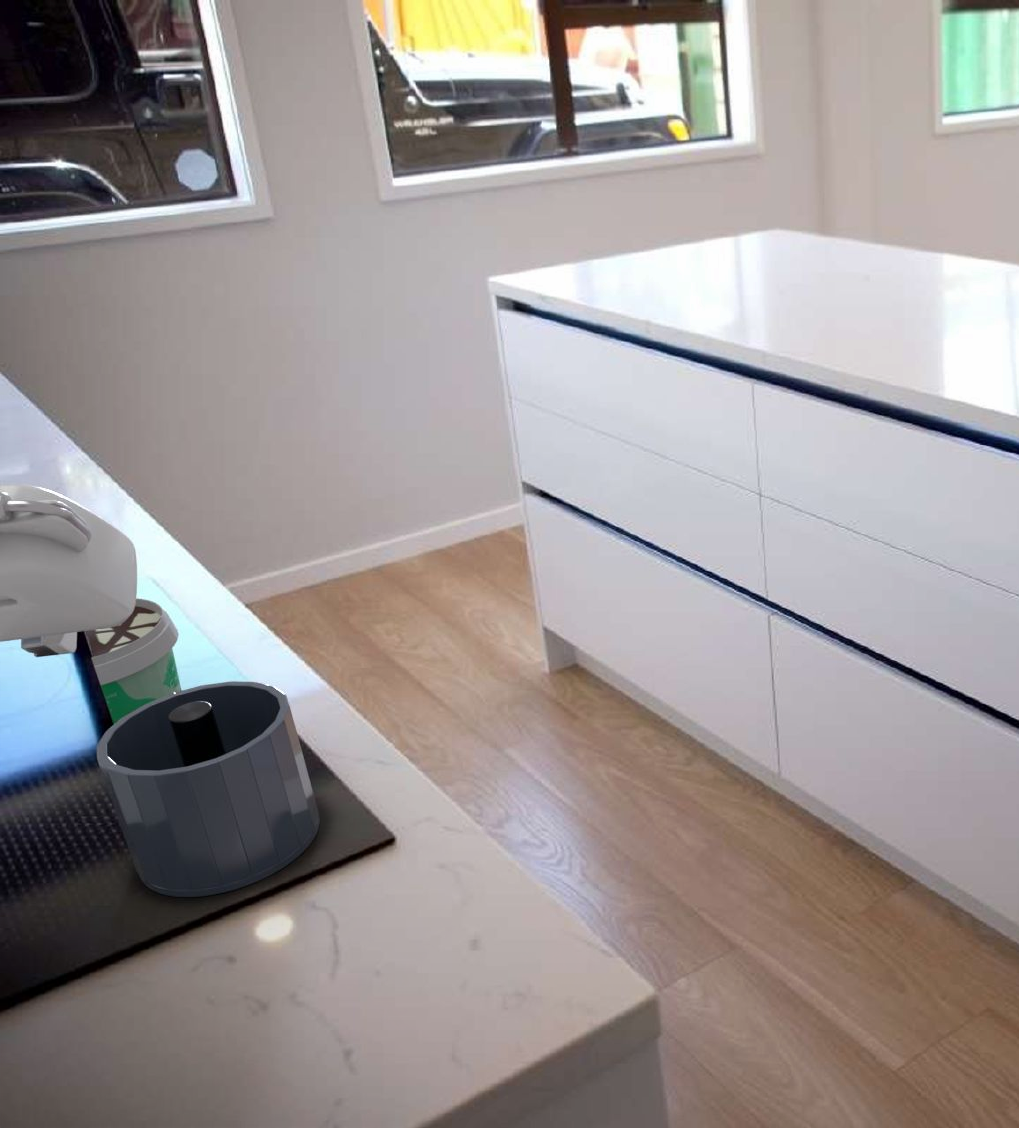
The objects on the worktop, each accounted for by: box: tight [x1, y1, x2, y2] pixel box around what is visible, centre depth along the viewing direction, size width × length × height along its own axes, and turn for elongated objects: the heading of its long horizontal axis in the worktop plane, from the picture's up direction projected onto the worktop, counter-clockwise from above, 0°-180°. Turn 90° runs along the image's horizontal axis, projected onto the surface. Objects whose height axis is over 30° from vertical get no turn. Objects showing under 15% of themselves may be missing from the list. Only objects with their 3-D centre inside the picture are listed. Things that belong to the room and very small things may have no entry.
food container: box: [83, 597, 182, 725], centre depth 101 cm, size 12×6×10 cm, turn 34°
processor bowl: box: [96, 680, 321, 898], centre depth 87 cm, size 12×12×10 cm
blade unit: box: [169, 701, 226, 767], centre depth 86 cm, size 7×7×10 cm
